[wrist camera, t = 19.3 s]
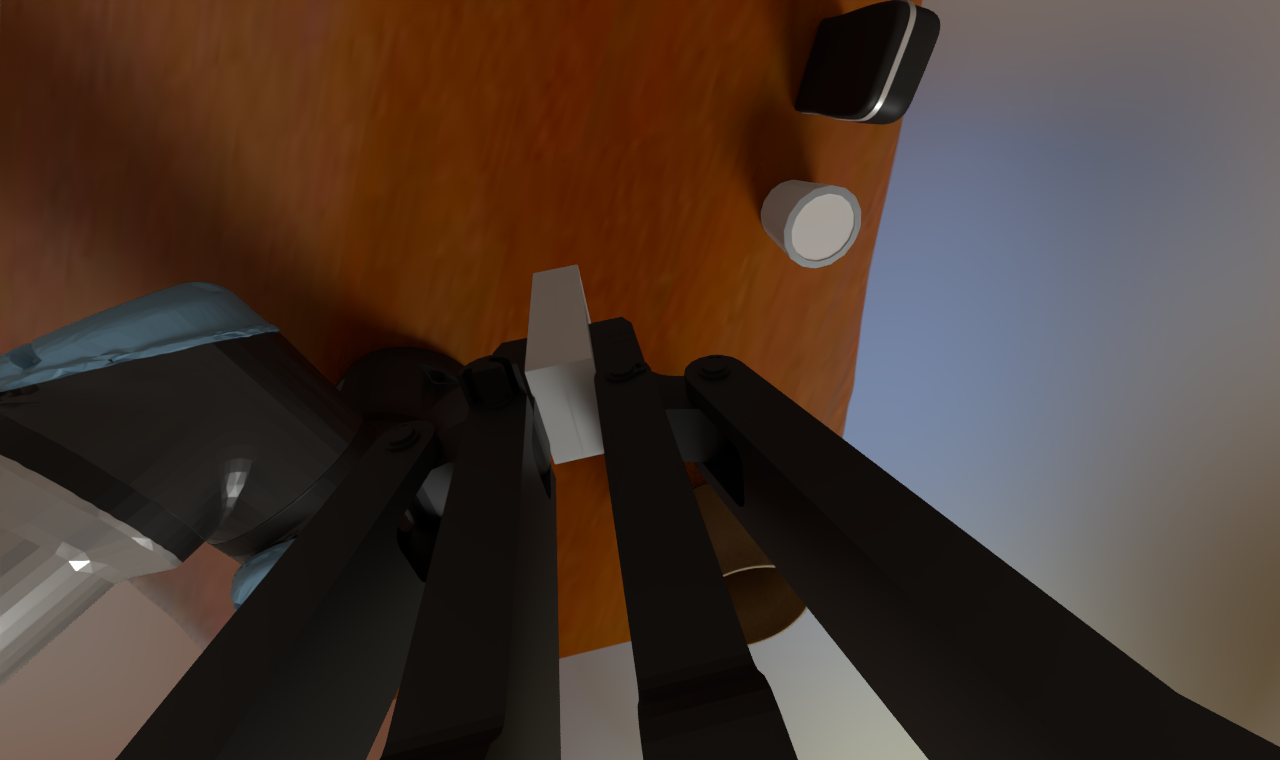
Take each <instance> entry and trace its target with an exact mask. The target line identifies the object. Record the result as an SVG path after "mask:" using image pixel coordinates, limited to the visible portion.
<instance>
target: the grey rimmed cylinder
mask: <svg viewBox="0 0 1280 760" xmlns="http://www.w3.org/2000/svg"><path fill="white" fill-rule="evenodd" d="M761 224H762V226H763V228H764V230H765V231H766V233H767V234H768V235H769V236H770V237H771V238H772V239H773V240H774V242H775V243H776V244H777V245H778V246H779V247H780V248H781V249H782V250H783V251H784V252H785V253H786V254H787V255H788V256H789V257H790V258H791V259H792V260H794V261H795V262H796V263H798V264H799V265H801V266H803V267H810V268H818V267H822V266H826V265H830V264H831V263H833V262H834V261H836V260H837V259H839V258H840V257H842V256H843V255H844V254H845V253H846V252H847V250H848V249H849V248H850V247H851V246H852V244H853V243H854V242H855V239H856V237H857V234H858V231H859V229H860V226H861V209H860V206H859V204H858V201H857V199H856V197H855V196H854V195H853V194H852V193H851V192H849V191H848V190H847V189H846V188H843V187H838V186H832V185H826V184H819V183H812V182H806V181H799V180H790V181H786V182H782V183H780V184H779V185H778V186H776V187H775V188H773V189H772V190H771V191H770V193H769V194H768V196H767V197H766V198H765V200H764V203H763V206H762V209H761Z"/></svg>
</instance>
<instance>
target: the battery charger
mask: <svg viewBox="0 0 1280 760" xmlns="http://www.w3.org/2000/svg"><path fill="white" fill-rule="evenodd" d="M939 31H940V20H939V18H938V16H937V15H936V14H935V13H934V12H933V11H931V10H929V9H926V8H923V7H920V6H917V5H914V3H913V2H911V1H908V0H891V1H885V2H881V3H876V4H873V5H869V6H866V7H863V8H860V9H857V10H854V11H851V12H849V13H846V14H843V15H840V16H835V17H831V18H825V19H823V20H822V21H821V23H820V26H819V29H818V32H817V35H816V38H815V41H814V44H813V47H812V51H811V54H810V57H809V60H808V63H807V67H806V70H805V73H804V76H803V80H802V83H801V86H800V89H799V93H798V96H797V100H796V103H795V110H797V111H799V112H800V113H803V114H815V115H822V116H826V117H830V118H834V119H839V120H847V121H852V122H858V123H867V124H889V123H893V122H895V121H897V120H898V119H900V118H901V117H902V116H903V115H904V114H905V113H906V111H907V109H908V108H909V106H910V104H911V102H912V100H913V97H914V95H915V92H916V90H917V88H918V85H919V83H920V81H921V78H922V76H923V73H924V71H925V69H926V66H927V64H928V61H929V59H930V56H931V54H932V51H933V49H934V46H935V44H936V41H937V38H938V35H939Z"/></svg>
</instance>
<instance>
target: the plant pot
mask: <svg viewBox="0 0 1280 760" xmlns="http://www.w3.org/2000/svg"><path fill="white" fill-rule="evenodd" d="M693 491H694V494H695V497H696V500H697V502H698V505H699V508H700V511H701V514H702V517H703V520H704V522H705V525H706V528H707V531H708V534H709V537H710V540H711V542H712V545H713V548H714V551H715V554H716V557H717V559H718V562H719V565H720V568H721V571H722V574H723V577H724V579H725V582H726V585H727V588H728V591H729V594H730V597H731V599H732V602H733V605H734V608H735V611H736V614H737V616H738V619H739V622H740V625H741V628H742V631H743V634H744V636H745V639H746V642H747V645H748V646H750V645H754V644H757V643H759V642H762V641H765V640H767V639H770V638H772V637H774V636H776V635H778V634H780V633H782V632H784V631H785V630H786V629H788V628H789V627H791V626H792V625H793V624H794V623H795V622H796V621H798V620H799V619H800V618H801V617H802V615H803V614H804V613H805V612H806V610H807V609H808V608H807V606H806V605H805V604H804V603H803V601H802V600H801V599H800V598H799V596H798V595H797V594H796V593H795V591H794V590H793V589H792V588H791V586H790V585H789V584H788V583H787V581H786V580H785V579H784V578H783V576H782V575H781V574H780V573H779V571H778V570H777V569H776V568H775V566H774V565H773V564H772V563H771V561H770V560H769V559H768V558H767V556H766V555H765V554H764V553H763V551H762V550H761V549H760V547H759V546H758V545H757V544H756V542H755V541H754V540H753V539H752V537H751V536H750V535H749V534H748V532H747V531H746V530H745V529H744V527H743V526H742V525H741V524H740V522H739V521H738V520H737V519H736V517H735V516H734V515H733V514H732V512H731V511H730V510H729V509H728V507H727V506H726V505H725V504H724V502H723V501H722V500H721V499H720V497H719V496H718V495H717V494H716V492H715V491H714V490H713V489H712V487H711V486H710V485H709V484H704V485H701V486H699V487H697V488H695V489H693Z"/></svg>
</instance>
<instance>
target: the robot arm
mask: <svg viewBox="0 0 1280 760" xmlns="http://www.w3.org/2000/svg"><path fill="white" fill-rule="evenodd" d="M550 451H551V454H552V457H553V460H554V463H555V464H559V463H563V462H568V461H572V460H577V459H581V458H586V457H590V456H595V455H599V454H604V455H605V462H606V468H607V475H608V482H609V489H610V496H611V503H612V510H613V517H614V524H615V531H616V538H617V545H618V552H619V559H620V566H621V573H622V580H623V587H624V594H625V601H626V608H627V614H628V621H629V628H630V635H631V642H632V649H633V656H634V663H635V670H636V677H637V684H638V693H639V702H638V719H639V729H640V737H641V745H642V753H643V760H798V759H797V756H796V753H795V751H794V748H793V745H792V742H791V740H790V737H789V734H788V731H787V729H786V726H785V724H784V721H783V718H782V715H781V713H780V710H779V707H778V705H777V702H776V700H775V697H774V695H773V692H772V690H771V687H770V685H769V683H768V682H767V680H766V678H765V676H764V675H763V674H762V673H761V672H760V671H759V670H758V669H757V667H756V666H755V664H754V661H753V659H752V656H751V653H750V651H749V648H748V645H747V642H746V639H745V636H744V634H743V631H742V628H741V625H740V622H739V619H738V616H737V614H736V611H735V608H734V605H733V602H732V599H731V597H730V594H729V591H728V588H727V585H726V582H725V579H724V577H723V574H722V571H721V568H720V565H719V562H718V559H717V557H716V554H715V551H714V548H713V545H712V542H711V540H710V537H709V534H708V531H707V528H706V525H705V522H704V520H703V517H702V514H701V511H700V508H699V505H698V502H697V500H696V497H695V494H694V491H693V488H692V485H691V482H690V480H689V477H688V474H687V471H686V468H685V465H684V463H683V462H695V465H696V467H697V469H698V471H699V472H700V473H701V475H702V476H703V477H704V478H705V480H706V481H707V482H708V484H709V485H710V486H711V487H712V489H713V490H714V491H715V492H716V494H717V495H718V496H719V497H720V499H721V500H722V501H723V502H724V504H725V505H726V506H727V507H728V509H729V510H730V511H731V512H732V514H733V515H734V516H735V517H736V519H737V520H738V521H739V522H740V524H741V525H742V526H743V527H744V529H745V530H746V531H747V532H748V534H749V535H750V536H751V537H752V539H753V540H754V541H755V542H756V544H757V545H758V546H759V547H760V549H761V550H762V551H763V553H764V554H765V555H766V556H767V558H768V559H769V560H770V561H771V563H772V564H773V565H774V566H775V568H776V569H777V570H778V571H779V573H780V574H781V575H782V576H783V578H784V579H785V580H786V581H787V583H788V584H789V585H790V586H791V588H792V589H793V590H794V591H795V593H796V594H797V595H798V596H799V598H800V599H801V600H802V601H803V603H804V604H805V605H806V606H807V608H808V609H809V610H810V611H811V613H812V614H813V615H814V616H815V618H816V619H817V620H818V621H819V623H820V624H821V625H822V626H823V628H824V629H825V630H826V632H827V633H828V634H829V635H830V637H831V638H832V639H833V640H834V641H835V642H836V644H837V645H838V647H839V648H840V649H841V650H842V651H843V653H844V654H845V655H846V657H847V658H848V659H849V660H850V662H851V663H852V664H853V665H854V667H855V668H856V669H857V670H858V672H859V673H860V674H861V675H862V677H863V678H864V679H865V680H866V682H867V683H868V684H869V685H870V687H871V688H872V689H873V690H874V692H875V693H876V694H877V695H878V697H879V698H880V699H881V700H882V702H883V703H884V704H885V705H886V707H887V708H888V709H889V711H890V712H891V713H892V714H893V716H894V717H895V718H896V719H897V721H898V722H899V723H900V724H901V725H902V727H903V728H904V729H905V730H906V732H907V733H908V734H909V736H910V737H911V738H912V739H913V741H914V742H915V743H916V744H917V746H918V747H919V748H920V749H921V751H922V752H923V753H924V754H925V756H926V757H927V758H928V759H929V760H1280V747H1279V746H1277V745H1274V744H1273V743H1271V742H1269V741H1267V740H1265V739H1264V738H1262V737H1260V736H1258V735H1256V734H1254V733H1252V732H1250V731H1248V730H1246V729H1245V728H1243V727H1241V726H1239V725H1237V724H1235V723H1233V722H1231V721H1229V720H1227V719H1226V718H1224V717H1222V716H1220V715H1218V714H1216V713H1214V712H1212V711H1210V710H1208V709H1206V708H1205V707H1203V706H1201V705H1199V704H1197V703H1195V702H1193V701H1191V700H1189V699H1188V698H1186V697H1184V696H1182V695H1180V694H1178V693H1177V692H1175V691H1174V690H1173V689H1171V688H1170V687H1169V686H1167V685H1166V684H1165V683H1163V682H1162V681H1161V680H1159V679H1158V678H1156V677H1155V676H1154V675H1153V674H1152V673H1150V672H1149V671H1148V670H1146V669H1145V668H1144V667H1142V666H1141V665H1140V664H1138V663H1137V662H1136V661H1134V660H1133V659H1132V658H1130V657H1129V656H1128V655H1127V654H1125V653H1124V652H1123V651H1121V650H1120V649H1119V648H1117V647H1116V646H1115V645H1113V644H1112V643H1111V642H1109V641H1108V640H1107V639H1105V638H1104V637H1103V636H1101V635H1100V634H1099V633H1097V632H1096V631H1095V630H1094V629H1092V628H1091V627H1090V626H1088V625H1087V624H1086V623H1084V622H1083V621H1082V620H1080V619H1079V618H1078V617H1077V616H1075V615H1074V614H1073V613H1071V612H1070V611H1069V610H1067V609H1066V608H1065V607H1063V606H1062V605H1061V604H1059V603H1058V602H1057V601H1055V600H1054V599H1053V598H1052V597H1050V596H1049V595H1048V594H1046V593H1045V592H1043V591H1042V590H1041V589H1040V588H1038V587H1037V586H1036V585H1034V584H1033V583H1032V582H1030V581H1029V580H1028V579H1026V578H1025V577H1024V576H1023V575H1021V574H1020V573H1019V572H1017V571H1016V570H1015V569H1013V568H1012V567H1011V566H1009V565H1008V564H1007V563H1005V562H1004V561H1003V560H1002V559H1000V558H999V557H998V556H996V555H995V554H994V553H992V552H991V551H990V550H988V549H987V548H986V547H984V546H983V545H982V544H980V543H979V542H978V541H977V540H975V539H974V538H973V537H971V536H970V535H969V534H967V533H966V532H965V531H963V530H962V529H961V528H959V527H958V526H957V525H955V524H954V523H953V522H952V521H950V520H949V519H948V518H946V517H945V516H944V515H942V514H941V513H940V512H938V511H937V510H935V509H934V508H933V507H932V506H930V505H929V504H928V503H926V502H925V501H924V500H923V499H921V498H920V497H919V496H917V495H916V494H915V493H913V492H912V491H911V490H909V489H908V488H907V487H905V486H904V485H903V484H902V483H900V482H899V481H898V480H896V479H895V478H894V477H892V476H891V475H890V474H888V473H887V472H886V471H884V470H883V469H882V468H880V467H879V466H878V465H877V464H875V463H874V462H873V461H871V460H870V459H869V458H867V457H866V456H865V455H863V454H862V453H861V452H859V451H858V450H857V449H855V448H854V447H853V446H852V445H850V444H849V443H848V442H846V441H845V440H844V439H842V438H841V437H840V436H838V435H837V434H836V433H834V432H833V431H832V430H830V429H829V428H828V427H827V426H825V425H824V424H823V423H821V422H820V421H819V420H817V419H816V418H815V417H813V416H812V415H811V414H809V413H808V412H807V411H805V410H804V409H803V408H802V407H800V406H799V405H798V404H796V403H795V402H794V401H792V400H791V399H790V398H788V397H787V396H786V395H784V394H783V393H782V392H780V391H779V390H778V389H777V388H775V387H774V386H773V385H771V384H770V383H769V382H767V381H766V380H765V379H763V378H762V377H761V376H759V375H758V374H757V373H755V372H754V371H753V370H752V369H750V368H749V367H748V366H746V365H745V364H744V363H742V362H741V361H739V360H737V359H735V358H733V357H729V356H724V355H709V356H706V357H702V358H699V359H697V360H695V361H693V362H691V363H690V364H689V365H688V366H687V367H686V368H685V373H684V376H665V375H660V374H657V373H654V372H652V371H651V368H650V367H649V366H648V364H647V363H646V362H645V361H644V358H643V355H642V352H641V350H640V347H639V344H638V341H637V338H636V335H635V333H634V329H633V326H632V323H631V322H629V321H628V320H626V319H624V318H623V317H619V318H614V319H609V320H604V321H600V322H595V323H591V322H590V317H589V313H588V308H587V304H586V300H585V295H584V291H583V286H582V282H581V278H580V273H579V269H578V265H573V266H568V267H563V268H558V269H553V270H548V271H543V272H538V273H533V282H532V293H531V305H530V316H529V327H528V338H524V339H519V340H515V341H510V342H505V343H502V344H501V345H500V346H499V347H498V348H497V349H496V350H495V352H494V353H493V355H489V356H486V357H483V358H479V359H477V360H475V361H473V362H471V363H469V364H467V365H466V366H465V367H463V366H462V365H460V364H459V363H457V362H456V361H454V360H452V359H450V358H448V357H446V356H444V355H441V354H439V353H436V352H433V351H429V350H424V349H419V348H410V347H396V348H388V349H383V350H379V351H376V352H373V353H370V354H368V355H366V356H364V357H362V358H360V359H359V360H357V361H356V362H354V363H353V364H352V365H351V366H350V367H349V368H348V369H347V370H346V371H345V372H344V374H343V375H342V377H341V378H340V379H339V381H338V382H337V384H336V385H335V386H334V385H333V384H332V383H331V382H330V381H329V380H328V379H326V378H325V377H324V376H323V375H322V374H321V373H320V372H319V371H318V370H317V369H316V368H315V367H314V366H313V365H312V364H311V363H310V362H309V361H308V360H307V359H306V358H305V357H304V356H303V355H302V354H301V353H300V352H299V351H298V350H297V349H296V348H295V347H294V346H293V345H292V344H291V343H290V342H289V341H288V340H287V339H286V338H285V337H284V336H283V335H282V334H281V333H280V329H279V328H278V327H277V326H276V325H273V324H269V323H268V322H267V321H266V320H265V319H263V318H262V317H261V316H260V315H259V314H257V313H256V312H255V311H254V310H253V309H252V308H250V307H249V306H248V305H247V304H246V303H245V302H244V301H243V300H241V299H240V298H239V297H238V296H237V295H236V294H234V293H233V292H232V291H230V290H229V289H227V288H225V287H223V286H220V285H217V284H214V283H209V282H187V283H183V284H178V285H175V286H172V287H169V288H166V289H163V290H160V291H156V292H153V293H151V294H148V295H145V296H142V297H139V298H137V299H134V300H131V301H128V302H126V303H123V304H120V305H118V306H115V307H112V308H110V309H107V310H105V311H102V312H99V313H97V314H94V315H92V316H89V317H87V318H84V319H82V320H79V321H77V322H75V323H72V324H70V325H67V326H65V327H62V328H60V329H57V330H55V331H53V332H51V333H48V334H46V335H44V336H41V337H39V338H37V339H35V340H34V341H32V342H31V343H29V344H25V345H22V346H20V347H18V348H15V349H13V350H11V351H9V352H7V353H5V354H2V355H0V687H1V686H2V685H3V684H4V683H5V682H7V680H9V679H10V678H11V677H12V676H13V675H14V674H15V673H17V672H18V671H19V670H20V669H21V668H22V667H23V666H24V665H26V663H28V662H29V661H30V660H31V659H32V658H33V657H34V656H36V655H37V654H38V653H39V652H40V651H41V650H42V649H43V648H44V647H46V646H47V645H48V644H49V643H50V642H51V641H52V640H53V639H55V637H57V636H58V635H59V634H60V633H61V632H62V631H63V630H65V629H66V628H67V627H68V626H69V625H70V624H71V623H72V622H73V621H74V620H76V619H77V618H78V617H79V616H80V615H81V614H82V613H84V612H85V611H86V610H87V609H88V608H89V607H90V606H91V605H92V604H94V603H95V602H96V601H97V600H98V599H99V598H100V597H101V596H102V595H104V594H105V593H106V592H107V591H108V590H109V589H110V588H111V587H113V586H114V585H115V584H117V583H119V582H121V581H124V580H126V579H128V578H131V577H136V576H141V575H146V574H151V573H156V572H161V571H165V570H170V569H175V568H176V567H178V566H179V565H180V564H182V563H183V562H184V561H185V560H186V559H187V558H188V557H189V556H190V555H191V554H192V553H193V552H194V551H195V550H197V549H198V548H199V547H200V546H201V545H202V544H203V543H204V542H207V543H208V544H211V545H212V546H214V547H215V548H217V549H219V550H220V551H222V552H223V553H225V554H227V555H228V556H229V557H231V558H233V559H234V560H236V561H238V562H239V563H240V564H241V565H242V566H240V568H239V569H238V570H237V571H236V574H235V575H234V578H233V580H232V585H233V586H232V590H231V599H232V601H233V602H234V609H235V611H236V612H235V613H234V615H233V616H232V617H231V618H230V620H229V621H228V622H227V623H226V624H225V626H224V627H223V628H222V629H221V631H220V632H219V633H218V634H217V635H216V637H215V638H214V639H213V640H212V642H211V643H210V644H209V645H208V647H207V648H206V649H205V650H204V651H203V653H202V654H201V655H200V656H199V658H198V659H197V660H196V661H195V663H194V664H193V665H192V666H191V667H190V669H189V670H188V671H187V672H186V674H185V675H184V676H183V677H182V678H181V680H180V681H179V682H178V683H177V685H176V686H175V687H174V688H173V689H172V691H171V692H170V693H169V694H168V696H167V697H166V698H165V699H164V700H163V702H162V703H161V704H160V705H159V707H158V708H157V709H156V710H155V712H154V713H153V714H152V715H151V717H150V718H149V719H148V720H147V721H146V723H145V724H144V725H143V726H142V727H141V729H140V730H139V731H138V732H137V734H136V735H135V736H134V737H133V739H132V740H131V741H130V742H129V743H128V745H127V746H126V747H125V748H124V750H123V751H122V752H121V753H120V755H119V756H118V757H117V758H116V759H115V760H366V758H367V756H368V754H369V752H370V749H371V747H372V745H373V742H374V741H375V738H376V736H377V734H378V732H379V730H380V727H381V725H382V723H383V721H384V719H385V716H386V714H387V712H388V710H389V708H390V706H391V703H392V701H393V699H394V697H395V695H396V692H397V690H398V688H399V686H400V688H399V692H398V696H397V700H396V704H395V708H394V712H393V716H392V721H391V725H390V729H389V733H388V737H387V741H386V745H385V747H384V750H383V753H382V756H381V758H380V760H561V746H560V745H561V744H560V693H559V636H558V582H557V528H556V478H555V475H554V472H553V469H552V466H551V463H550Z"/></svg>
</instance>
